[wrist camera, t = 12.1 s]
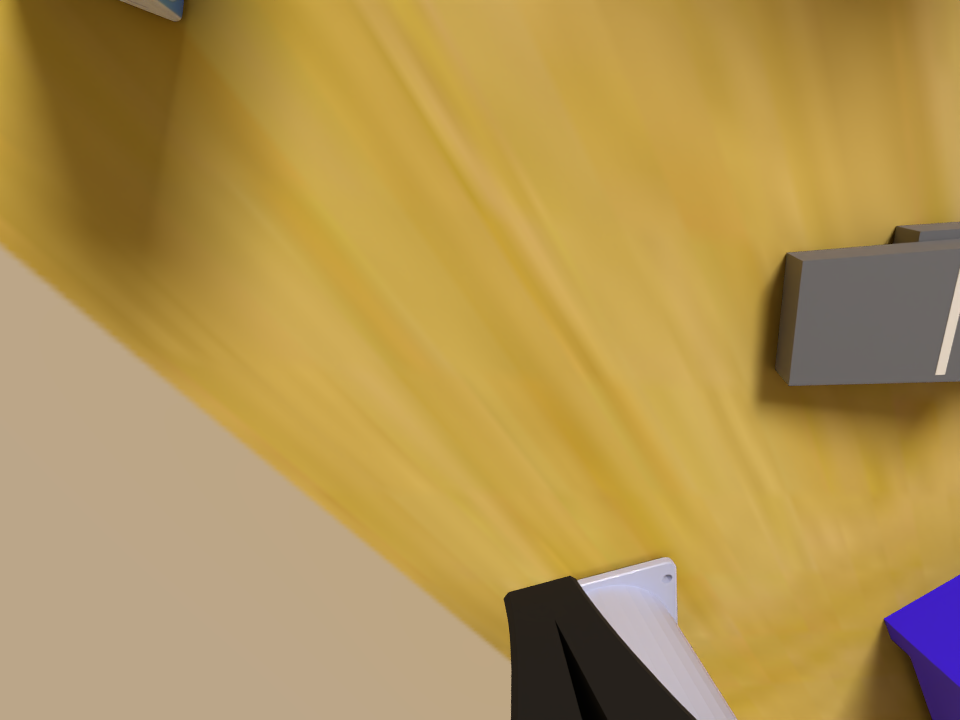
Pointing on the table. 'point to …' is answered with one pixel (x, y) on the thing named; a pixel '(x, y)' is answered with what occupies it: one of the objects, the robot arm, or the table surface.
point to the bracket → (933, 646)
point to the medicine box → (160, 7)
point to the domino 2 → (927, 232)
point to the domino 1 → (871, 315)
